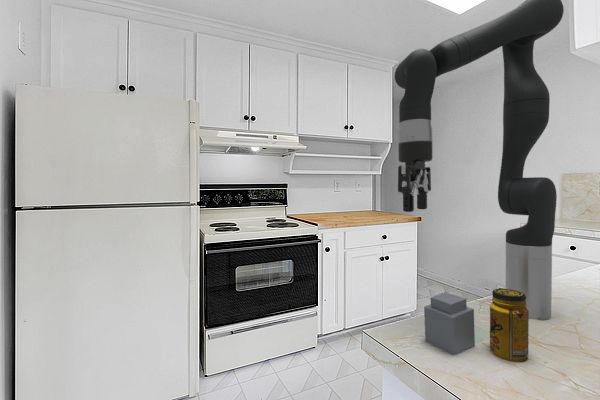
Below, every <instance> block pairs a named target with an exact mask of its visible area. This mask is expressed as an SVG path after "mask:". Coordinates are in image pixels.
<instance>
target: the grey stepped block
mask: <svg viewBox="0 0 600 400" xmlns="http://www.w3.org/2000/svg"><path fill="white" fill-rule="evenodd" d="M467 304H468V303H467V298H465V297H462V296H459V295H455V294H453V293H449V292H446V291H445V292H442V293H438V294H436V295H434V296H431V297H430V304H427V305H425V306H423V308H424V309H423V312H424V313H423V314H424V315H423V316H424V338H425V339H424V340H425V342H426V343H428V344H429V345H432V346H433V347H436V348H438V349H439V350H442V351H444V352H446V353H448V354H449V355H450V354H451V356H456V355H459V354H461V353H463V352H466V351H467V350H470V349H472V348H474V347H476V343H475V334H474V325H475V309H474V308H473V307H469V306H467Z"/></svg>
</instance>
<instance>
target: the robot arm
mask: <svg viewBox="0 0 600 400" xmlns="http://www.w3.org/2000/svg"><path fill="white" fill-rule="evenodd" d="M564 11H565V10H564V4H563V1H562V0H525V1H523V2H522V3H520V4H519V5H518V6H516V7H514V9H512V10H510V11H509V12H506V13H505V14H502V15H501V16H498V17H496V18H495V19H492V20H491V21H488V22H485V23H484V24H481V25H478V26H477V27H474V28H471V29H469V30H467V31H464V32H462V33H459V34H457V35H455V36H452V37H450V38H447V39H445V40H443V41H440V42H439V43H438V44H436V45H434V47H432V48H430V49H429V50H428V49H427V48H426V49H425V48H419V49H415V50H413V51H411V52H410V53H409V54H408V55H407V56H406V57H405V58H404V59H403V60H402V61H401V62H400V63H399V64H398V65H397V67H396V69H395V72H394V81H395V83H396V85H397V86H398V87H400V88H401V89H404V95H403V97H402V98H401V100H400V102H399V107H398V117H399V121H398V122H399V124H398V132H397V133H398V134H397V135H398V140H397V142H398V143H397V144H398V149H397V150H398V153H397V154H398V162H399V163H404V165H399V166H398V167H397V169H398V170H397V171H398V172H397V192H398V193H400V194H401V195H402V209H403V212H405V213H411V212H414V210H415V206H414V205H415V196H414V193H415V191H416V193H417V194H416V208H417V210H427V208H428V194H429V192H431V190H432V181H431V180H432V177H431V175H432V173H431V171H432V170H431V167H430V166H426V164H425V163H427V162H431V161H433V126H432V103H431V102H432V98H433V94H434V90H435V84H436V79H437V78H438V77H439V76H441V75H444V74H446V73H450V72H453V71H454V70H457V69H460V68H462V67H464V66H466V65H469V64H471V63H472V62H475V61H477V60H479V59H481V58H483V57H484V56H487V55H488V54H490V53H491V52H493V51H495V50H497V49H499V48H502V57H503V88H504V89H503V107H502V109H503V110H502V125H503V126H502V129H503V130H502V131H503V132H502V153H501V161H500V162H501V163H500V171H499V172H500V173H499V178H498V187H497V201H498V205H499V207H500V210H501V211H502V212H503V213H504V214H508V215H514V216H515V215H516V216H528V218H527V222H526V223H525V224H524V225H522V226H520V227H517V228H511V229H508V230H507V231H506V233H505V288H506V289H513V290H517V291H520V292H522V293H524V294H525V296H526V308H527V309H528V312H529V320H530V319H532V320H538V321H539V320H549V319H551V318H552V297H553V296H552V295H553V294H552V291H553V289H552V286H553V282H552V280H553V274H552V273H553V271H552V270H553V264H552V263H553V236H554V233H555V228H556V227H555V226H556V225H555V224H556V210H557V209H556V208H557V189H556V185H555V183H554V182H553V180H551V178H549V177H545V176H544V177H543V176H541V177H539V176H537V177H536V176H535V177H524V168H525V164H526V161H527V158H528V156H529V154H530V152H531V151H532V149H533V148H534V146H535V144H536V143H537V142H538V140H539V139H540V137H542V135H543V133H544V131H545V130H546V129H547V126H548V124H549V120H550V100H551V99H550V91H549V88H548V87H547V85H546V84H545V82H544V80H543V79H542V77H541V76H540V75H539V73H538V72H537V70H536V68H535V64H534V46H535V41H537V40H539V39H540V38H542V37H544V36H546V35H548V33H550V32H552V31H553V30H554V29H555V28H556V27H557V26H558V25H559V24H560V23H561V21H562V18H563V15H564Z"/></svg>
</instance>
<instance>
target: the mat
mask: <svg viewBox="0 0 600 400" xmlns="http://www.w3.org/2000/svg"><path fill="white" fill-rule="evenodd" d="M474 334H475V344H478V343H479V342H482V341H485V340H488V339H490V330H488V329H484V327H483V328H482V327H481V326H477V325H475V324H474Z"/></svg>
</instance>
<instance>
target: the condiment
mask: <svg viewBox="0 0 600 400" xmlns="http://www.w3.org/2000/svg"><path fill="white" fill-rule="evenodd" d="M491 301H492V302H491V303H490V304H489V331H490V338H489V348H490V353H492V355H494V356H495V357H497V358H498V359H501V360H505V361H506V362H513V363H524V362H527V360H529V328H530V327H529V320H530V318H529V312H528V309H527V308H526V296H525V294H524V293H522V292H520V291H517V290H513V289H506V287H504V288H503V287H502V288H494V289H493V290H492V298H491ZM544 363H545V364H546V363H547V364H549V363H552V362H546V361H544ZM532 364H534V362H533V363H532Z"/></svg>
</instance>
